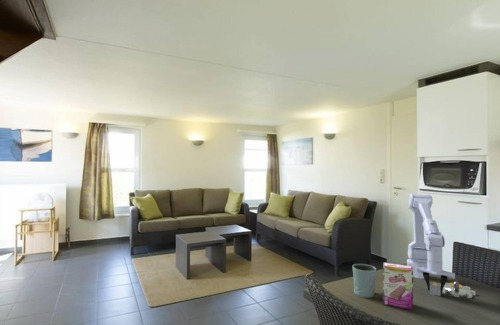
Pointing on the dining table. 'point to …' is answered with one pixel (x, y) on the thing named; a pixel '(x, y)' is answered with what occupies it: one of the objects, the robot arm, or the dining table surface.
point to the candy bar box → (398, 285)
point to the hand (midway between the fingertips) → (435, 291)
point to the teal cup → (364, 280)
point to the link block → (435, 289)
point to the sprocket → (458, 290)
